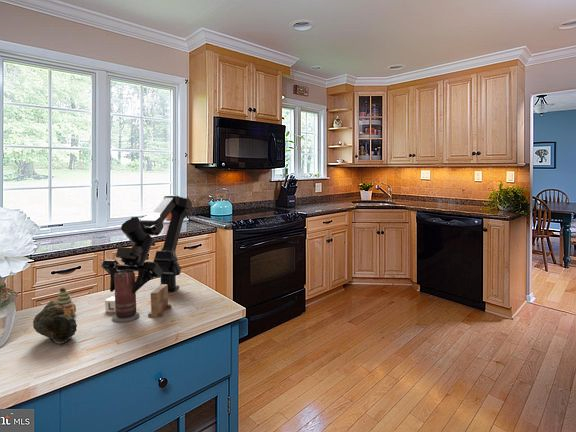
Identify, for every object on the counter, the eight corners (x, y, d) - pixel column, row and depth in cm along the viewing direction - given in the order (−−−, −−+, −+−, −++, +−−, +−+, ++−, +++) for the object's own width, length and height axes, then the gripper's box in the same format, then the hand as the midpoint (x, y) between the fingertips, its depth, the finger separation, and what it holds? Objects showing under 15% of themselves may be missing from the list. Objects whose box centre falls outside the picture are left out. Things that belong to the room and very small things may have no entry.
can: (121, 319, 114) (119, 275, 113) (112, 314, 118) (110, 272, 117) (140, 314, 119) (138, 271, 118) (131, 310, 123) (129, 268, 122)
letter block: (111, 307, 127) (111, 296, 126) (123, 307, 126) (122, 296, 126) (105, 312, 123) (104, 300, 122) (117, 312, 122) (116, 300, 122)
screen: (159, 306, 128) (158, 284, 127) (171, 306, 127) (171, 284, 126) (147, 316, 119) (146, 292, 118) (161, 317, 118) (160, 293, 117)
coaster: (120, 312, 122) (120, 310, 122) (143, 312, 122) (143, 311, 122) (106, 322, 114) (106, 320, 114) (131, 322, 114) (131, 321, 114)
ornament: (45, 323, 113) (42, 292, 112) (48, 316, 118) (46, 286, 117) (75, 319, 116) (73, 288, 115) (76, 312, 122) (74, 283, 121)
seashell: (28, 353, 95) (25, 316, 93) (38, 335, 105) (35, 301, 104) (76, 346, 99) (73, 310, 98) (80, 329, 109) (78, 296, 108)
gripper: (103, 235, 120) (81, 278, 111) (156, 237, 117) (138, 281, 108) (119, 253, 129) (100, 294, 120) (169, 256, 126) (153, 298, 117)
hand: (121, 292), depth 116 cm, fingers open, 7 cm apart
